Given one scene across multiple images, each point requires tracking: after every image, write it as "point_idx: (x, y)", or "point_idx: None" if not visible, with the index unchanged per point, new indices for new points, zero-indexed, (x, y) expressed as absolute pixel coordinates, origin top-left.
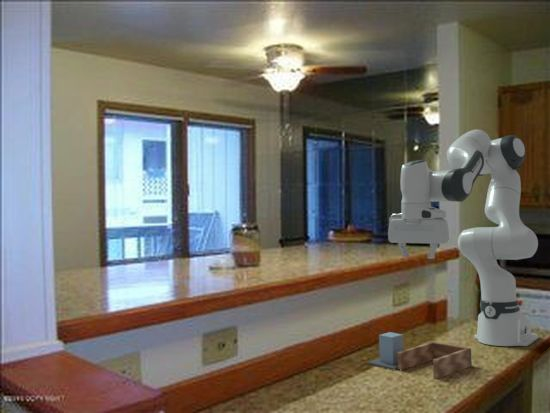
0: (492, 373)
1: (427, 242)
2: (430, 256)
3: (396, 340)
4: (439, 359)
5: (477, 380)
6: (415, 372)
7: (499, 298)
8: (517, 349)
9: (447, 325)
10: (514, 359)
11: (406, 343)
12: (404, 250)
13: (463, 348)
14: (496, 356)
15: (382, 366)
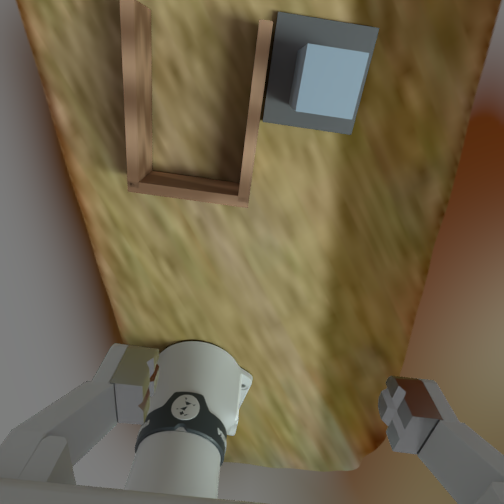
0: (77, 150)
1: (41, 491)
2: (117, 354)
3: (301, 71)
4: (120, 15)
5: (65, 70)
6: (221, 40)
7: (154, 443)
8: (144, 339)
9: (341, 431)
10: (109, 275)
11: (363, 280)
12: (439, 449)
13: (143, 183)
14: (147, 278)
15: (320, 19)
